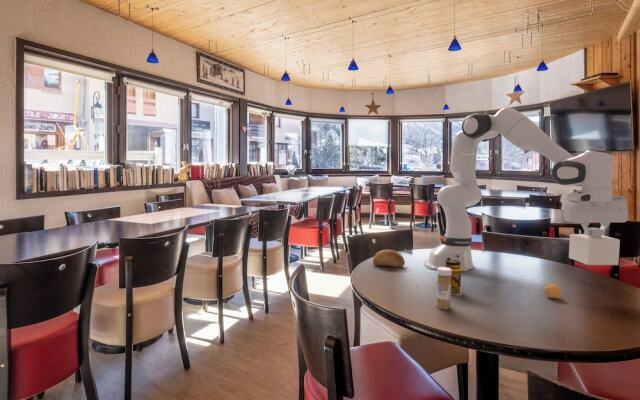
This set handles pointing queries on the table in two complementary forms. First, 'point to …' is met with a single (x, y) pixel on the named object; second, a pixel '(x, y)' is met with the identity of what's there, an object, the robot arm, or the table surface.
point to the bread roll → (388, 258)
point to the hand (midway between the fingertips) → (594, 234)
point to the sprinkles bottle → (444, 287)
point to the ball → (552, 291)
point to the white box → (594, 248)
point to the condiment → (455, 276)
